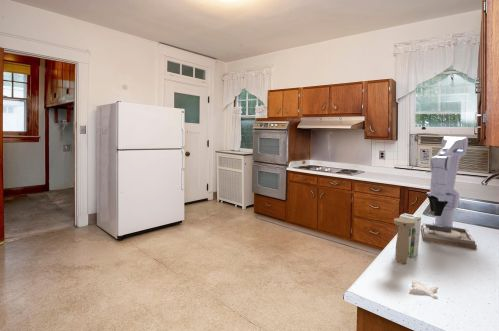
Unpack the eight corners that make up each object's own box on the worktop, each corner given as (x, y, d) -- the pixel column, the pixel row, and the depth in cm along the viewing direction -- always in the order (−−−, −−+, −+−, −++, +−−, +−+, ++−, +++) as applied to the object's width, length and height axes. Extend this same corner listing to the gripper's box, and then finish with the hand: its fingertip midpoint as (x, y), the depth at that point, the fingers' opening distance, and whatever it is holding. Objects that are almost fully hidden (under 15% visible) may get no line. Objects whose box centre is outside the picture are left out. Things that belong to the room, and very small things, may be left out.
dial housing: (420, 228, 137) (421, 222, 137) (467, 235, 129) (468, 228, 129) (423, 240, 122) (423, 233, 121) (476, 249, 113) (477, 242, 113)
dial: (458, 232, 127) (459, 225, 127) (462, 239, 118) (463, 232, 118) (427, 228, 133) (428, 221, 132) (429, 234, 124) (430, 227, 123)
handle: (390, 258, 104) (393, 217, 102) (410, 261, 102) (414, 219, 100) (391, 263, 100) (394, 221, 98) (412, 267, 97) (415, 223, 96)
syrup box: (396, 252, 109) (398, 215, 107) (402, 248, 113) (405, 212, 111) (412, 258, 105) (415, 218, 103) (418, 253, 108) (421, 215, 107)
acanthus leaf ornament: (409, 294, 82) (409, 288, 82) (408, 283, 88) (409, 277, 88) (440, 302, 78) (441, 295, 78) (438, 289, 84) (438, 283, 84)
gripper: (424, 180, 135) (422, 208, 137) (431, 185, 122) (429, 217, 124) (442, 181, 133) (439, 210, 135) (451, 186, 119) (448, 218, 121)
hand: (435, 213), depth 129 cm, fingers open, 7 cm apart
